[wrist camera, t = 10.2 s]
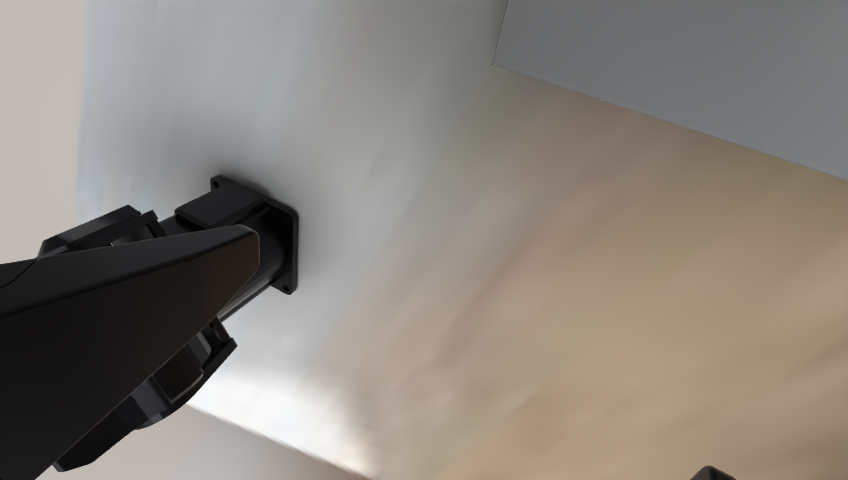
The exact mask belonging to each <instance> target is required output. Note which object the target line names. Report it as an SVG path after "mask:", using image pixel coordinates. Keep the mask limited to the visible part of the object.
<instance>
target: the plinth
mask: <svg viewBox="0 0 848 480" xmlns="http://www.w3.org/2000/svg"><path fill="white" fill-rule="evenodd" d="M492 65H495V66H498V67H501V68H504V69H507V70H510V71H513V72H516V73H519V74H522V75H525V76H528V77H532V78H535V79H538V80H541V81H544V82H547V83H550V84H553V85H556V86H559V87H562V88H565V89H568V90H571V91H575V92H578V93H581V94H584V95H587V96H590V97H593V98H596V99H599V100H602V101H605V102H608V103H611V104H615V105H618V106H621V107H624V108H627V109H630V110H633V111H636V112H639V113H642V114H645V115H648V116H651V117H655V118H658V119H661V120H664V121H667V122H670V123H673V124H676V125H679V126H682V127H685V128H688V129H691V130H695V131H698V132H701V133H704V134H707V135H710V136H713V137H716V138H719V139H722V140H725V141H728V142H731V143H735V144H738V145H741V146H744V147H747V148H750V149H753V150H756V151H759V152H762V153H765V154H768V155H771V156H775V157H778V158H781V159H784V160H787V161H790V162H793V163H796V164H799V165H802V166H805V167H808V168H811V169H815V170H818V171H821V172H824V173H827V174H830V175H833V176H836V177H839V178H842V179H845V180H848V0H508V3H507V7H506V11H505V15H504V19H503V23H502V27H501V31H500V35H499V39H498V42H497V46H496V50H495V54H494V58H493V62H492Z"/></svg>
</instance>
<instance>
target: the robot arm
mask: <svg viewBox="0 0 848 480" xmlns="http://www.w3.org/2000/svg"><path fill="white" fill-rule="evenodd" d="M210 185H211V192H209V193H207V194H205V195H203V196H201V197H199V198H196V199H194V200H192V201H190V202H188V203H186V204H184V205H182V206H180V207H178V208H177V209H175V211H174V213H175V215H173V216H171V217H169V218H167V219H165V220H163V221H161V222H158V221H157V219H158V217H157V216H156V214H155V212H154V211H153V210H151V211H148V212H146V213H144V214H141V213H140V211H137V210H135V209H134V208H133V207H131V206H130V205H126V206H124V207H122V208H119V209H117V210H115V211H112V212H110V213H108V214H106V215H103V216H101V217H99V218H96V219H94V220H91V221H89V222H87V223H84V224H82V225H79V226H77V227H75V228H72V229H70V230H67V231H65V232H63V233H60V234H58V235H55V236H53V237H51V238H49V239H46V240H44V241H43V242H42V245H41V248H40V251H39V253H38V256H37V257H36V258H34V259H29V260H23V261H18V262H12V263H6V264H0V480H35V479H36V478H37V477H39V476H40V475H41V474H42V473H43V472H44V471H45V470H46V469H48V468H49V467H50V466H51V465H53V466H54V468H55V469H56V470H57V471H58V472H65V471H68V470H72V469H75V468H78V467H81V466H84V465H88V464H90V463H92V462H94V461H95V460H96V459H97V458H99V457H100V456H101V455H102V454H104V453H105V452H106V451H107V450H109V449H110V448H111V447H112V446H114V445H115V444H116V443H117V442H118V441H120V440H121V439H122V438H124V437H125V436H126V435H128V434H129V433H130V432H131V431H133V430H139V429H142V428H146V427H148V426H150V425H153V424H155V423H157V422H159V421H160V420H162V419H164V418H166V417H167V416H169V415H170V414H172V413H173V412H175V411H176V410H178V409H179V408H180V407H181V406H183V405H184V404H185V403H186V402H187V401H189V400H190V399H191V398H192V397H193V396H194V395H195V394H196V392H197V391H198V390H199V389H200V388H201V387H202V386H203V385H204V383H205V382H206V381H207V380H208V379H209V378H210V377H211V375H212V374H213V373H214V372H215V371H216V370H217V369H218V368H219V366H220V365H221V364H222V363H223V362H224V361H225V360H226V359H227V357H228V356H229V355H230V354H231V353H232V352H233V351H234V349H235V348H236V347H237V344H236V342H235V341H234V339H233V338H231V337H230V336H229V334H228V333H227V331H226V329H225V328H224V326H223V325H222V322H223V321H224V320H226V319H227V318H228V317H230V316H231V315H232V314H234V313H235V312H236V311H238V310H239V309H240V308H242V307H243V306H244V305H246V304H247V303H248V302H250V301H251V300H252V299H254V298H255V297H256V296H258V295H259V294H260V293H261V292H263V291H264V290H265V289H267V288H268V287H269V286H272V287H274V288H276V289H278V290H280V291H282V292H283V293H285V294H288V295H291V294H292V293H293V292H294V291H295V290H296V277H297V237H298V217H297V215H296V213H295V212H294V211H293V210H291V209H289V208H287V207H285V206H283V205H281V204H279V203H277V202H275V201H273V200H271V199H269V198H267V197H264V196H262V195H260V194H258V193H256V192H254V191H252V190H250V189H248V188H246V187H244V186H242V185H240V184H237V183H235V182H233V181H231V180H229V179H227V178H225V177H223V176H221V175H216V176H214V177H212V178H211V179H210ZM111 243H112V245H113V246H112V245H111ZM690 480H736V479H735V478H734V477H732V476H730V475H728V474H726V473H724V472H723V471H721V470H719V469H717V468H715V467H713V466H705V467H703V468H702V469H701V470H700V471H699V472H698V473H697V474H696V475H695V476H693V477H692V478H691V479H690Z"/></svg>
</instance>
